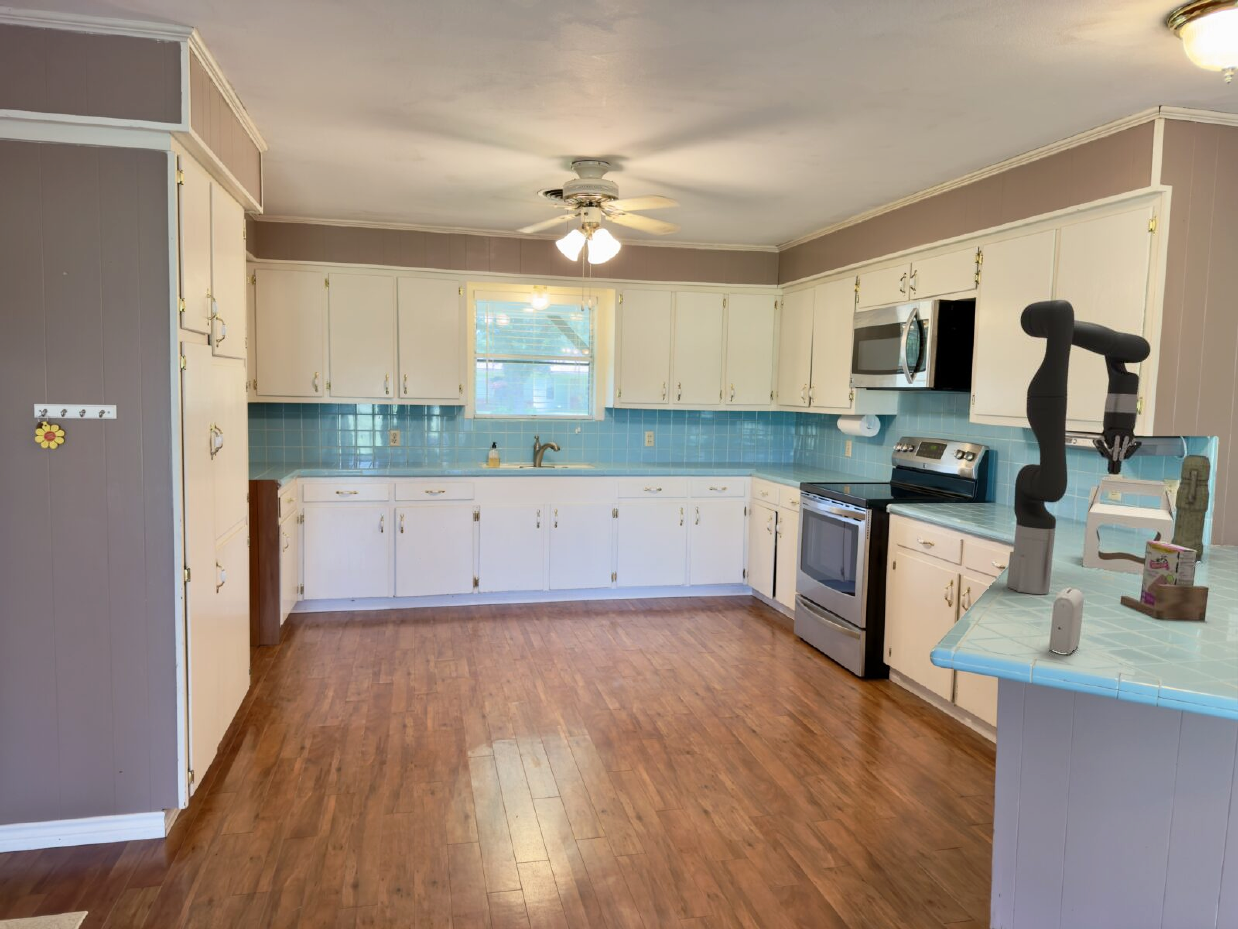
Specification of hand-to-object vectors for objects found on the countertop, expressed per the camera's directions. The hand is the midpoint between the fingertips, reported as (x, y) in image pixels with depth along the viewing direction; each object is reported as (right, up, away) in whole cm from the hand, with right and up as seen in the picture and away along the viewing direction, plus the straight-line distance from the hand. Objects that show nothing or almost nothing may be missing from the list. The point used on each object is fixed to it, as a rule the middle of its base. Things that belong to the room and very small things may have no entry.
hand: (1113, 474), depth 223 cm
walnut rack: (-3, -33, -24) cm, 41 cm away
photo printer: (-46, -35, -58) cm, 82 cm away
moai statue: (+52, -29, +47) cm, 76 cm away
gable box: (+20, -30, +28) cm, 45 cm away
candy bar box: (-2, -34, -23) cm, 41 cm away
